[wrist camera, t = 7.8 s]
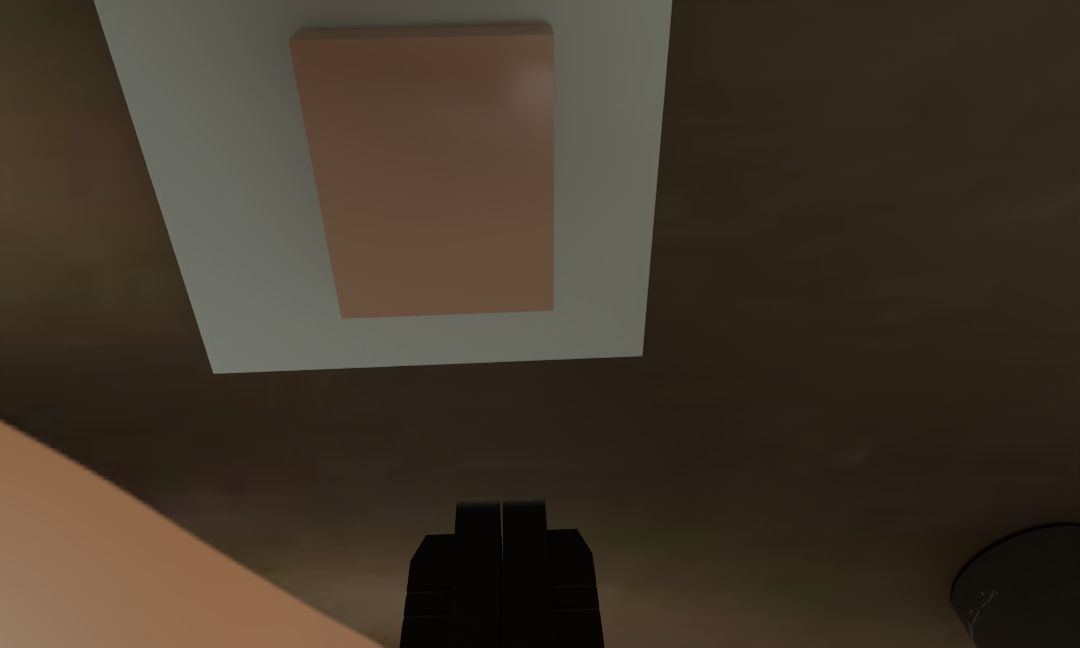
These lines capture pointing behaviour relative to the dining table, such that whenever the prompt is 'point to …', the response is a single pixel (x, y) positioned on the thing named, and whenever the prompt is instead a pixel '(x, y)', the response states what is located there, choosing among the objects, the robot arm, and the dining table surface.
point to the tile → (433, 165)
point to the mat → (292, 200)
